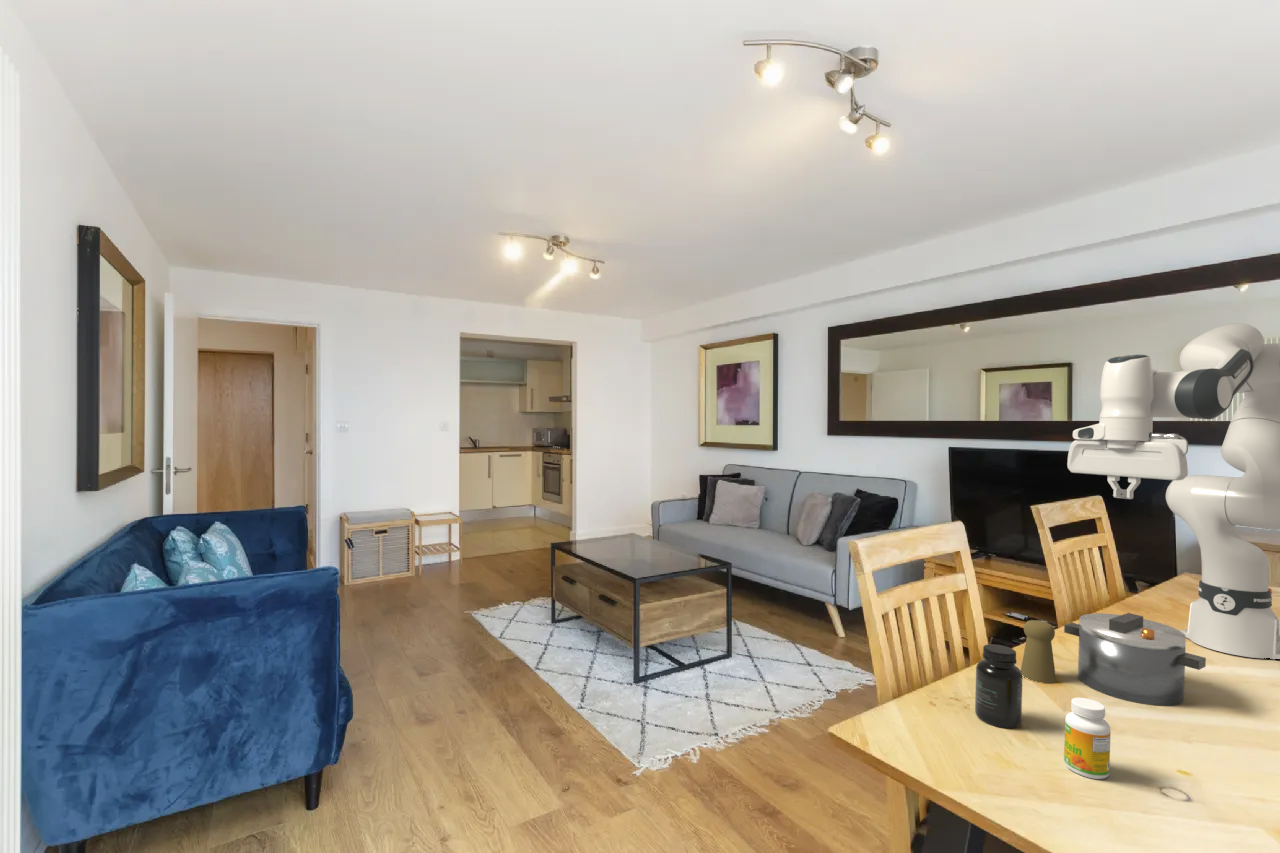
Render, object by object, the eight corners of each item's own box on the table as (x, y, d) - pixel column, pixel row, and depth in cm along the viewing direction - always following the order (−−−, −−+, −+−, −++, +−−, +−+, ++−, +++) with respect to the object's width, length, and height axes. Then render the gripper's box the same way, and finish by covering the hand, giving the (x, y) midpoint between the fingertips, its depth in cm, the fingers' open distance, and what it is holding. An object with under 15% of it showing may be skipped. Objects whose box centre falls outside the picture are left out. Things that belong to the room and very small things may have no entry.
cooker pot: (1085, 659, 133) (1086, 613, 133) (1217, 699, 114) (1219, 645, 114) (1046, 674, 125) (1048, 624, 124) (1182, 720, 106) (1184, 662, 106)
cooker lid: (1102, 616, 130) (1102, 599, 130) (1200, 640, 117) (1200, 621, 116) (1063, 628, 122) (1063, 611, 122) (1164, 656, 108) (1164, 636, 108)
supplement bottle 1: (1000, 708, 109) (1002, 640, 109) (1031, 727, 102) (1033, 655, 102) (965, 711, 108) (967, 642, 108) (994, 730, 101) (996, 657, 101)
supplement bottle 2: (1054, 759, 93) (1056, 695, 93) (1088, 758, 93) (1090, 694, 93) (1083, 780, 87) (1085, 712, 87) (1119, 779, 88) (1121, 711, 88)
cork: (1061, 684, 120) (1063, 628, 120) (1027, 681, 121) (1028, 625, 121) (1047, 672, 126) (1049, 618, 125) (1015, 669, 127) (1016, 616, 127)
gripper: (1194, 433, 122) (1192, 503, 122) (1078, 431, 140) (1077, 492, 140) (1181, 433, 119) (1179, 505, 119) (1064, 430, 137) (1062, 493, 137)
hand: (1123, 498), depth 130 cm, fingers closed
